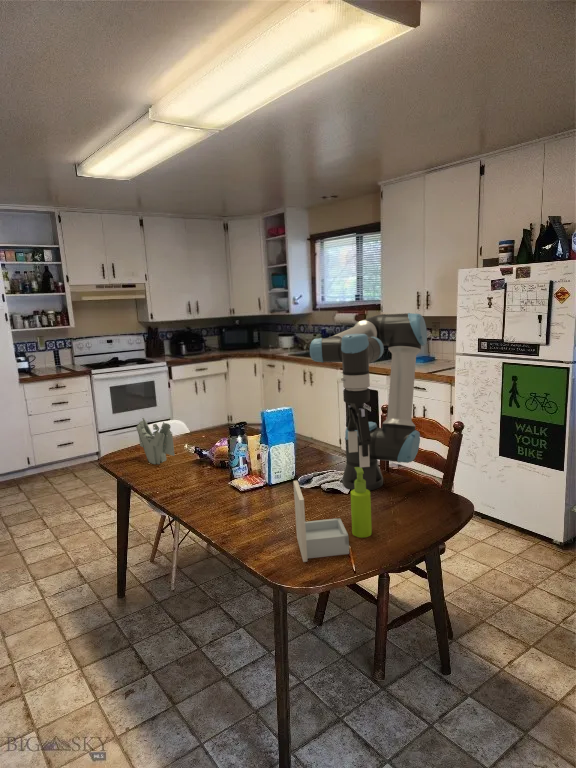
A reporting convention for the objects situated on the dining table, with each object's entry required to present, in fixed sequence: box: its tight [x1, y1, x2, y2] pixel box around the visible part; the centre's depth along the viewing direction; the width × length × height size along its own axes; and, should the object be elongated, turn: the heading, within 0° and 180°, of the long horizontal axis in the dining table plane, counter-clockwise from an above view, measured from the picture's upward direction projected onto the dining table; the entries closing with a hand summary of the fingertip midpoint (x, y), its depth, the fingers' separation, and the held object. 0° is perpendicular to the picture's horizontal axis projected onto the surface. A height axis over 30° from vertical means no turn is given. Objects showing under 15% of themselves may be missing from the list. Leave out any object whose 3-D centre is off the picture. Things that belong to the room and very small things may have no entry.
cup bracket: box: [292, 480, 350, 563], centre depth 139 cm, size 13×14×18 cm
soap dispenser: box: [350, 467, 373, 539], centre depth 146 cm, size 6×7×20 cm
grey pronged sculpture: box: [135, 417, 175, 465], centre depth 224 cm, size 28×7×20 cm, turn 49°
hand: (358, 459), depth 144 cm, fingers open, 13 cm apart
